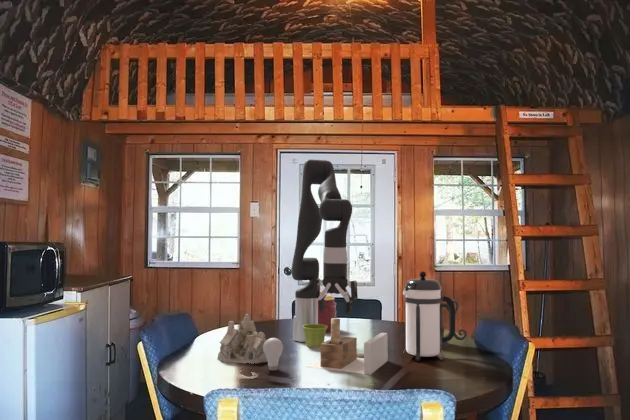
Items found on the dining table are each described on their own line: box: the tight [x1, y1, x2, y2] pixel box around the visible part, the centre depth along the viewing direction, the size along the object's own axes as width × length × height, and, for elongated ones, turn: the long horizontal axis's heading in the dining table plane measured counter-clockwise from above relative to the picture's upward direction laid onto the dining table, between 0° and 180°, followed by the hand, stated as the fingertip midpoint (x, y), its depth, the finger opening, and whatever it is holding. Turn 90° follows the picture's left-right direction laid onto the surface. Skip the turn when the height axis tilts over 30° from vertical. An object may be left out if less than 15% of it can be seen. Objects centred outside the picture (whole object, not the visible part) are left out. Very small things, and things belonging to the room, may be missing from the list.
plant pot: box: [303, 324, 328, 349], centre depth 192 cm, size 9×9×9 cm
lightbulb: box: [263, 337, 284, 371], centre depth 159 cm, size 6×6×11 cm
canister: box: [318, 289, 338, 333], centre depth 232 cm, size 13×13×18 cm
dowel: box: [330, 317, 341, 345], centre depth 164 cm, size 3×3×12 cm
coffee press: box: [401, 270, 456, 363], centre depth 182 cm, size 17×16×30 cm
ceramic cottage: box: [216, 313, 268, 365], centre depth 178 cm, size 16×16×15 cm
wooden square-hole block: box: [320, 335, 358, 369], centre depth 167 cm, size 7×14×7 cm, turn 156°
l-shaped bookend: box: [306, 332, 389, 375], centre depth 166 cm, size 21×18×10 cm
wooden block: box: [357, 352, 364, 358], centre depth 174 cm, size 10×3×3 cm
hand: (335, 312), depth 164 cm, fingers open, 8 cm apart
